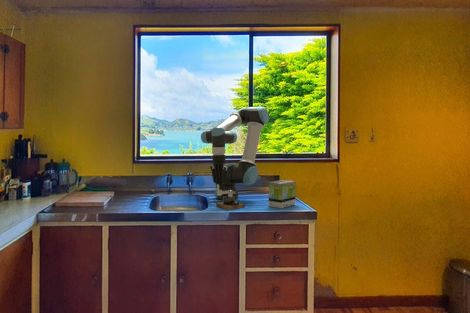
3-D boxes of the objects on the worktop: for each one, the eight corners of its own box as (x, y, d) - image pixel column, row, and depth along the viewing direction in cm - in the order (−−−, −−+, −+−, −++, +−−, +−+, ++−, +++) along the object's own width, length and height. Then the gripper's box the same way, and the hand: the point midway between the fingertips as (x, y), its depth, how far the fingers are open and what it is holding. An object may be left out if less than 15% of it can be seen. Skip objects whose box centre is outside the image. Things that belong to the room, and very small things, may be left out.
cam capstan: (232, 201, 211) (232, 187, 211) (236, 203, 205) (236, 189, 204) (213, 203, 207) (213, 189, 207) (216, 205, 201) (216, 190, 200)
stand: (232, 204, 216) (232, 197, 216) (244, 207, 206) (244, 200, 206) (216, 206, 209) (216, 199, 208) (228, 210, 199) (227, 202, 199)
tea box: (282, 209, 202) (282, 183, 201) (268, 206, 208) (268, 182, 207) (296, 204, 213) (296, 180, 212) (282, 202, 220) (282, 179, 219)
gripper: (231, 154, 199) (232, 195, 201) (215, 153, 208) (216, 193, 210) (222, 155, 194) (222, 197, 195) (206, 154, 203) (207, 194, 204)
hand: (219, 195), depth 202 cm, fingers closed
